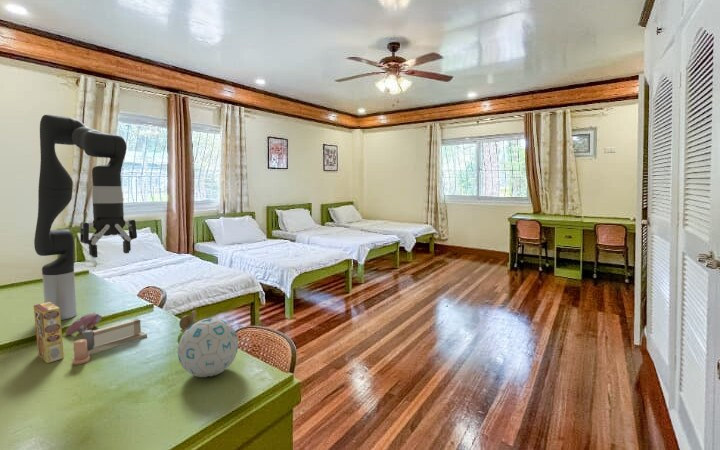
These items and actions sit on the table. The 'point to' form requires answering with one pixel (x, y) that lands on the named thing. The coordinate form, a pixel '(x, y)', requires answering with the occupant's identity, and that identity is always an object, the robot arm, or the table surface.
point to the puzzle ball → (207, 347)
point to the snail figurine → (186, 323)
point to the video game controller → (84, 323)
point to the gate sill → (116, 343)
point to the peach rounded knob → (80, 352)
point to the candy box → (48, 332)
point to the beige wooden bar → (111, 333)
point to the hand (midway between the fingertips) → (110, 255)
